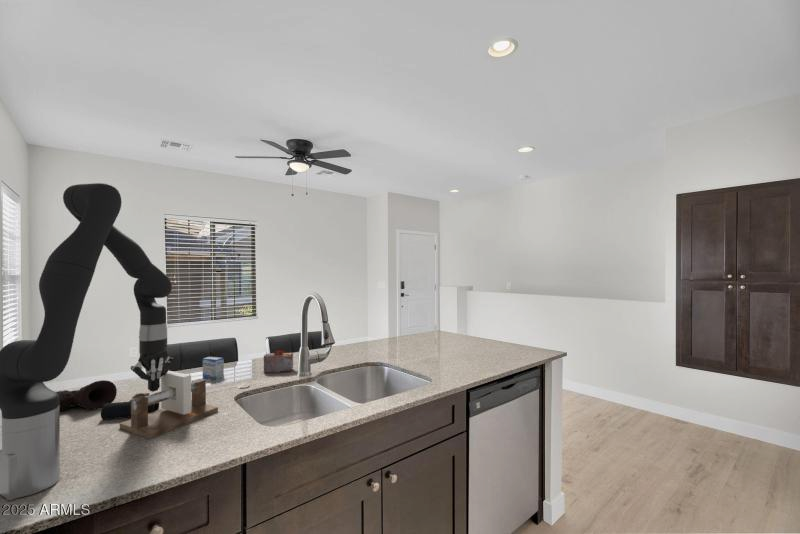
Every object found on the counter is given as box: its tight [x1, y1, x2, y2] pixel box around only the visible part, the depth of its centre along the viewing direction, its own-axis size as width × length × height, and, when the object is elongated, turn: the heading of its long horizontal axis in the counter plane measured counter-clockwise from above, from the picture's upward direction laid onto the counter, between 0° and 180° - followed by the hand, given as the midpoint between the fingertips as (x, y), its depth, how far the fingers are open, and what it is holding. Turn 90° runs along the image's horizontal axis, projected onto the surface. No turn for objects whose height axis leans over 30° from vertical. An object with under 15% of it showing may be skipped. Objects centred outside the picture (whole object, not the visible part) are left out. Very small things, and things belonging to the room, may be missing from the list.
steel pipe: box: [131, 381, 197, 410], centre depth 118 cm, size 22×3×3 cm, turn 153°
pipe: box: [55, 379, 118, 412], centre depth 129 cm, size 10×15×15 cm
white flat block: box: [160, 370, 192, 415], centre depth 119 cm, size 2×12×12 cm, turn 63°
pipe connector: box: [100, 392, 160, 420], centre depth 124 cm, size 12×5×15 cm
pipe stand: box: [119, 378, 219, 440], centre depth 118 cm, size 22×16×10 cm
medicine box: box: [202, 356, 225, 379], centre depth 163 cm, size 8×4×9 cm, turn 73°
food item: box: [263, 350, 294, 373], centre depth 172 cm, size 14×8×10 cm, turn 102°
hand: (153, 390), depth 117 cm, fingers closed
